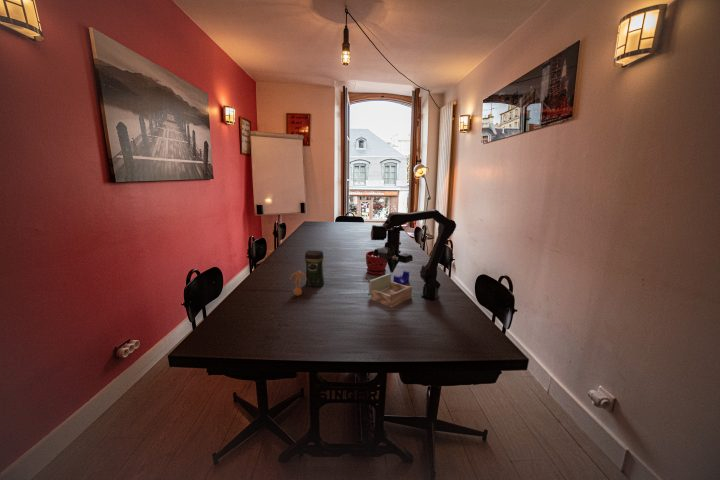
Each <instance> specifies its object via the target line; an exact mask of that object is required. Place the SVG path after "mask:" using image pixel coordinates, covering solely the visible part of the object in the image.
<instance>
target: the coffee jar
mask: <svg viewBox="0 0 720 480" xmlns="http://www.w3.org/2000/svg"><path fill="white" fill-rule="evenodd" d="M324 257H325V256H324V251H323V250H311V249H308V250H306V251H305V254H304V261H305V267H306V268H305V276H306V278H307V281H306V278H304V279H305V281H304V282H305V283H304V284H305V285H306V286H307V287H314V288H315V287H317V288H319V287H322V286H324V283H325V278H324V277H325V276H324V268H323V263H324V262H323V261H324Z"/></svg>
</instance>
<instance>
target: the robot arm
mask: <svg viewBox="0 0 720 480" xmlns="http://www.w3.org/2000/svg"><path fill="white" fill-rule="evenodd" d="M432 219H433V220H434V221H435V222H436V223H437V224H438V227H437V237H436V240H435V243H434V246H433V249H432V250H431V253H430V257H429V259H428V262H427V263H426V265H424V264H422V266H421V269H420V271H419V273H420V278H421V279H422V280H423V283H424V284H423V287H422V295H421V298H423V299H425V300H429V301H432V302H433V301H435V300H437V299H439V298H440V295H439V289H440V288H441V286H442V285H441V283H440V282H439V280H437V278H438V266H439V263H440V262H441V261H440V260H441V257H442V255H443V253H444V250H445V248H446V244H447V241H448V239H449V238H450V237H451V236H453V234H454V232H455V230H456V228H457V223H456V222H455V220H454V219H451V218H449V217H446V216H445V215H443V214H442V213H441V212H440V211H439V210H438V209H435V208H431V209H426V210H420V211H414V212H413V211H412V212H398V211H397V212H395V211H394V212H390V213H389V214H388V215H387V218H386V220H385V221H384V223H383V224H382V225H375V224H373V225H371V231H370V240H371V241H384V240H386V241H385V242H384V246H383V247H377V248H375V249H374V250H373V251H374V255H376V256H379V258H383V259H385V260H386V261H387V265H388V269H389V273H391V274H392V273H394V272H395V269H396V267H397V266H398V264H399V263H403V264H408V263H410V262H412V261H414V260H413V254H409V253H406V252H405V253H402V251H401V250H400V245H402V242H401V240H400V239H401V238H400V237H401V236H400V235H401V232H405V229H404V227H403V226H404V225H405V224H407V223H411V222H418V221H419V222H420V221H426V220H432ZM402 225H403V226H402ZM376 256H375V257H376Z"/></svg>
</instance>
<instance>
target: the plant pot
mask: <svg viewBox="0 0 720 480" xmlns="http://www.w3.org/2000/svg"><path fill="white" fill-rule="evenodd" d="M365 261H366V262H365V263H366V271H367V273H369V274H371V275H384V274H385V273H386V271H387V269H386V267H387V265H388V263H387V261H386V260H385V259H383V258H379V256H376V255H374V250H371V251H367V252H366V253H365Z"/></svg>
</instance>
